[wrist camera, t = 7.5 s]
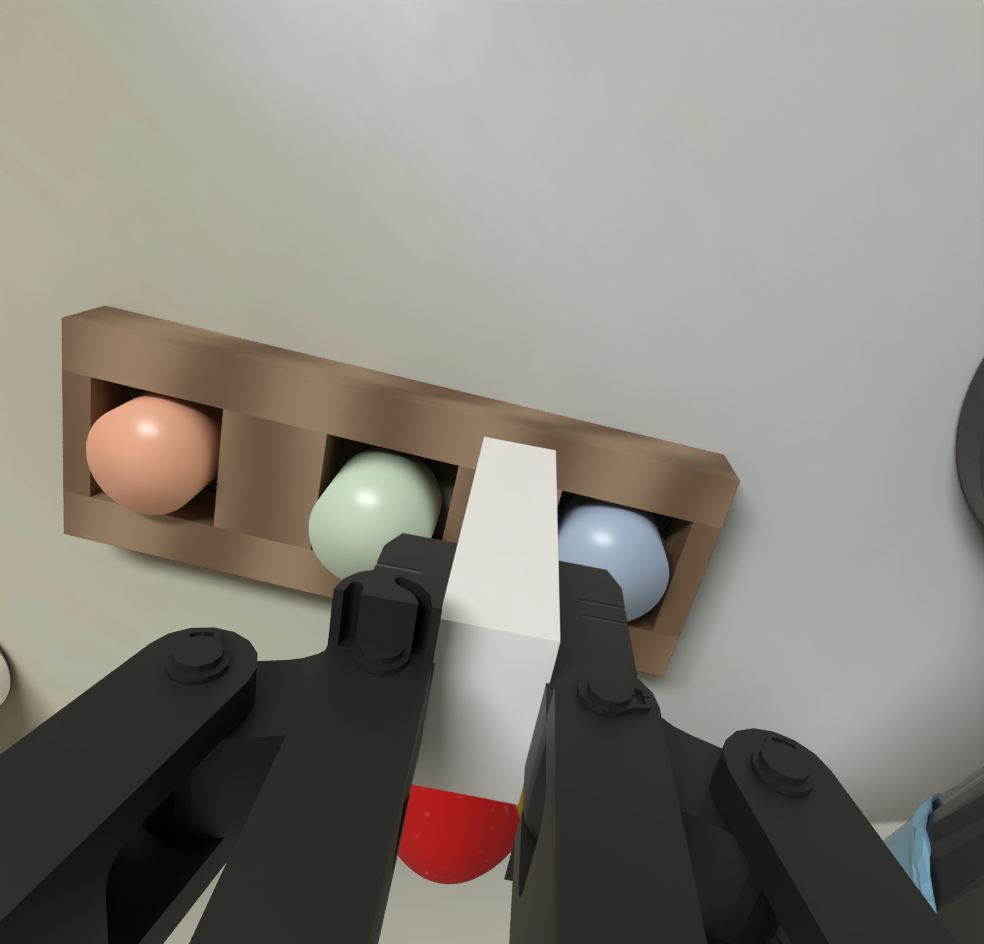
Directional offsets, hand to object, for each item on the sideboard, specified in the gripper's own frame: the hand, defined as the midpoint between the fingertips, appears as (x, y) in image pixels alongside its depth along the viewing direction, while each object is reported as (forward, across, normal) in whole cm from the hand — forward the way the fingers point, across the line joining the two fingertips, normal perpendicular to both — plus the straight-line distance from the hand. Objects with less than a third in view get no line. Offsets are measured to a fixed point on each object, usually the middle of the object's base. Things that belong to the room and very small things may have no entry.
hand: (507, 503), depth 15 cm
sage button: (+15, +5, +8) cm, 18 cm away
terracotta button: (+17, +15, +7) cm, 23 cm away
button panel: (+17, +5, +8) cm, 19 cm away
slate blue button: (+16, -5, +8) cm, 19 cm away
